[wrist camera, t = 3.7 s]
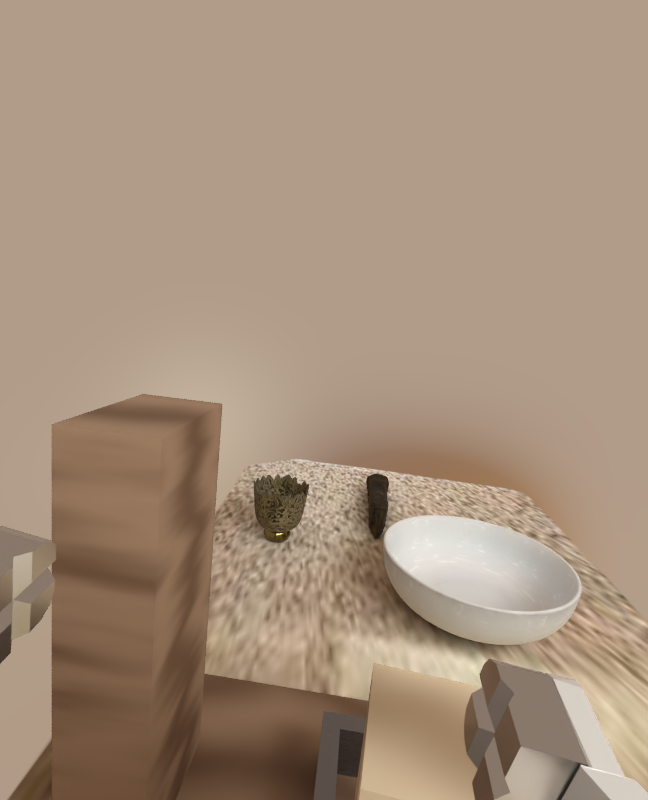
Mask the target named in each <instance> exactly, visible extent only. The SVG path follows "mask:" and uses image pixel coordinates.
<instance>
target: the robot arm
mask: <svg viewBox="0 0 648 800" xmlns="http://www.w3.org/2000/svg"><path fill="white" fill-rule="evenodd" d="M55 560H56V544H55V543H53V542H52V541H51V540H48V539H44V538H41V537H37V536H34V535H31V534H27V533H24V532H21V531H17V530H14V529H10V528H7V527H4V526H0V663H1V662H2V661H3V660H4V659H5V658H6V657H7V656H8V655H9V654H10V653H11V642H12V640H13V639H15V638H18V637H20V636H22V635H24V634H27V633H29V632H30V631H31V630H32V629H33V628H34V627H35V626H36V625H37V624H38V623H39V621H40V620H41V619H42V617H43V615H44V614H45V612H46V610H47V609H48V607H49V605H50V603H51V600H52V596H53V593H54V587H55V579H54V577H53V575H52V574H51V572H50V570H49V569H48V567H49V566H50V565H51V564H52V563H53V562H54V561H55ZM480 679H481V683H482V688H480V689H478V690H477V691H475V692H473V693H472V694H471V696H470V699H469V702H468V704H467V707H466V712H465V720H464V740H465V746H466V752H467V755H468V757H469V758H470V759H471V761H472V762H473V764H474V765H475V767H476V768H477V769H478V770H477V772H476V774H475V777H474V779H473V781H472V786H473V791H474V797H475V800H648V793H647V792H646V791H645V790H644V789H643V788H642V787H641V786H640V785H639V784H638V783H637V782H636V780H633V779H630V778H626V777H625V776H624V773H623V771H622V769H621V767H620V765H619V763H618V761H617V759H616V757H615V755H614V753H613V751H612V749H611V747H610V744H609V742H608V740H607V738H606V736H605V734H604V732H603V730H602V728H601V726H600V724H599V722H598V720H597V718H596V715H595V713H594V711H593V709H592V707H591V705H590V703H589V701H588V699H587V697H586V695H585V693H584V691H583V689H582V687H581V686H580V685H579V684H578V683H577V682H576V681H575V680H572V679H568V678H564V677H560V676H556V675H552V674H548V673H545V674H544V673H542V672H539V671H535V670H531V669H527V668H523V667H519V666H516V665H512V664H508V663H504V662H500V661H496V660H493V659H489V660H488V661H487V662H486V663H485V664H484V666H483V668H482V670H481V673H480Z"/></svg>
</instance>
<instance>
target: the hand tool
mask: <svg viewBox="0 0 648 800" xmlns="http://www.w3.org/2000/svg"><path fill="white" fill-rule="evenodd" d="M366 483H367V490H368V496H369V499H368V501H369V528H370V530H371V532H372V534H373V535H374V537H375V538H379V537H380V536H381V534H382V532H383V529H384V526H385V521H386V516H387V511H388V501H387V491H388V486H389V482H388V478H387V477H386V476H383V475H379V474H373V475H370V476H368V477H367V481H366ZM378 531H379V532H378Z"/></svg>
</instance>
